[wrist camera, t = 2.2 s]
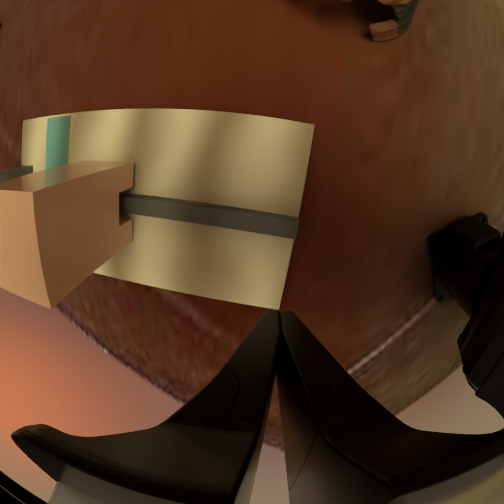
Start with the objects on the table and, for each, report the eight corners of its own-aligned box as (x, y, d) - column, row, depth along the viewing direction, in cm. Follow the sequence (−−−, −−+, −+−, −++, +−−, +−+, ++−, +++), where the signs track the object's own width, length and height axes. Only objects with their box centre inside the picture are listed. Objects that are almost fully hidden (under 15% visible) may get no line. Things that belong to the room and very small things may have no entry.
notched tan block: (133, 162, 18) (32, 192, 9) (132, 240, 21) (51, 309, 12) (82, 160, 19) (-18, 188, 9) (83, 231, 21) (0, 287, 12)
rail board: (313, 125, 17) (330, 118, 11) (278, 306, 23) (277, 362, 17) (26, 120, 18) (-23, 126, 12) (32, 253, 24) (-8, 279, 18)
